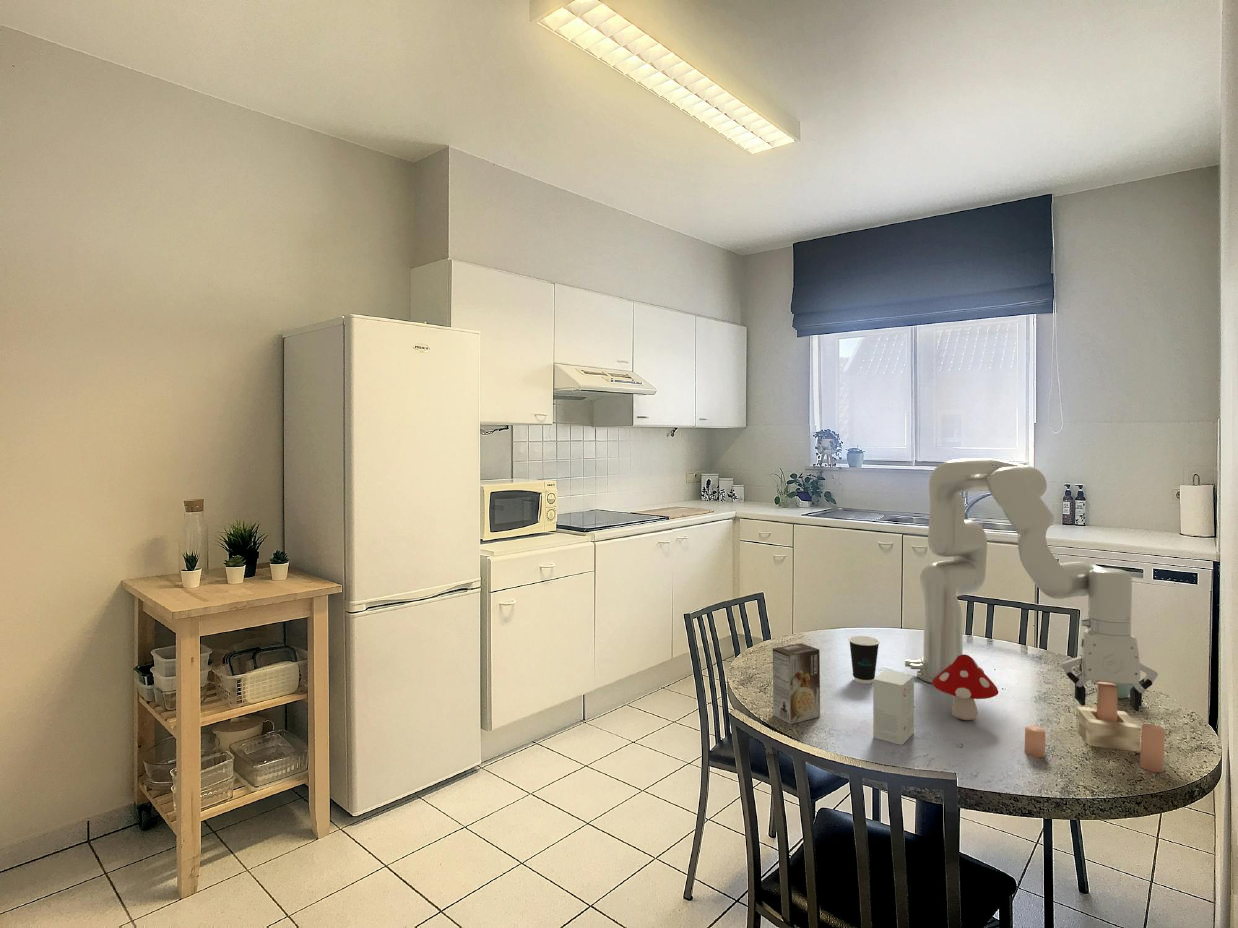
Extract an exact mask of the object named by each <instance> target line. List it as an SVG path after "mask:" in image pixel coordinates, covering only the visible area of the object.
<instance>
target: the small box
mask: <svg viewBox="0 0 1238 928" xmlns="http://www.w3.org/2000/svg"><path fill="white" fill-rule="evenodd" d="M872 685H873V686H872V687H873V688H872V690H873V693H872V694H873V695H872V699H873V705H872V706H873V707H872V708H873V713H872V714H873V715H872V716H873V717H872V718H873V719H872V720H873V729H872V730H873V732H872V733H873V734H872V736H873V738H874V739H877V740H881V741H885V742H889V743H891V744H896V745H899V746H903V745H904V744H905V743H906V742H907V741H908V740H909V739H910V738H911V737H912V735H913V734H914V733H915V730H914V729H915V716H914V715H915V707H914V706H915V675H913V674H909V673H905V672H901V671H896V670H889V669H885V670H884V671H882V672H880V674H878V675H877V676H875V678H874V679H873V683H872Z"/></svg>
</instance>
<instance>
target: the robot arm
mask: <svg viewBox="0 0 1238 928" xmlns="http://www.w3.org/2000/svg"><path fill="white" fill-rule="evenodd" d="M928 482H929V483H928V489H929V490H928V492H929V513H928V514H929V516H928V536H927V537H928V538H927V542H928V543H927V544H928V549H929V551H930V552H931V553H932V554H933V555H935V556H937V557H942V558H949V557H951V558H953V559H952V560H951V559H949V560H942V561H941V560H939V561H934V562H932V563H929V564H928V565H926V566H925V567H924V568H922V571H921V572H920V576H919V577H920V578H919V583H920V584H919V585H920V589H921V592H922V600H923V602H922V603H923V656H921V659H917V660H913V659H904V667H907V668H910V670H916V674H917V677H918V678H919V679H920V680H922V681H924V682H927V683H929V684H932V681H933V679H934V678H935V677H936V676H937V675H938V674H939V673H941V672H942V671H943V670H944V669H946V668H947V667H948V666H949V665H950V664H951V661H952V660H953V659H954V658H955V657H957V656H960V655H963V643H964V641H963V640H964V637H963V635H964V633H963V632H964V631H963V629H964V616H963V609H962V607H961V605H960V603H959V599H958V597H960V596H966V595H971V594H975V593H978V592H979V591H980V590H981V589H982V588H983V586H984V583H985V580H986V572H987V554H988V553H987V552H988V537H987V535H986V532H985V530H984V528H983V527H982V525H980V524H979V523H978V522H976V521H974V520H971V519H965V517H966V516H965V515H966V505H965V502H964V498H963V496H962V495H961V494H962V493H968V492H987V491H988V492H989V493H990V495H991V496H992V498H993V500H995V501H994V502H996V503H997V505H998V506H999V508H1000V509H1001V511H1002V512H1003V514H1004V516H1005V517H1006V518H1007V520H1008V522H1010V524H1011V526H1012V527H1013V528H1014V531H1015V532H1016V534H1017V548H1018V549H1017V550H1018V555H1019V558H1020V562H1021V564H1022V566H1023V568H1024V570H1025V572H1026V573H1027V575H1028V576H1029V577H1030V579H1031V581H1032V582H1033V583H1034V585H1035V586H1036V587H1037V588H1038V589H1039V591H1041V592H1042V593H1043V594H1044V595H1045V596H1047V597H1049V598H1051V599H1054V600H1062V599H1071V598H1076V597H1077V598H1078V597H1085V596H1086V597H1087V601H1088V602H1087V615H1086V618H1085V619H1080V620H1079V625H1080V626H1081V627H1084V628H1087V629H1084V631H1083V633H1082V638H1081V643H1080V647H1079V648H1080V649H1079V655H1078V656H1076V657H1074V658H1071V659H1067V660H1065V661H1063V662H1061V663H1060V666H1061V668H1062V670H1063V671H1064V673H1065V675H1066V676H1067V678H1068V679H1070V681H1071V682H1072V683H1074V699H1075V701H1076V700H1077V702H1078V704H1079V705H1080V707H1084V706H1086V696H1087V695H1086V693H1087V690H1086V689H1087V688H1086V687H1085V686H1084V685H1086V684H1087V682H1088V681H1093V682H1096V681H1098V682H1108V683H1119V684H1131V685H1132V688H1131V689H1130V695H1129V707H1130V708H1132V710H1133V711H1134V712H1140V707H1142V706H1143V705H1142V704H1143V694H1144V693H1145V692H1146V690H1147V689H1149V688H1150V687H1151V686H1152V685H1153V682H1155V680H1156V679H1157V677H1158V675H1159V672H1157V671H1156V670H1155V669H1152V668H1151V667H1149V666H1146V665H1145V664H1142V663H1141V662H1140V654H1139V647H1138V641H1137V638H1136V636H1135V634H1132V604H1133V602H1132V599H1133V595H1132V594H1133V590H1132V589H1133V577H1132V575H1131V574H1130V572H1128V571H1127V570H1124V569H1120V568H1112V567H1103V566H1099V565H1096V564H1092V563H1090V562H1085V561H1072V562H1061V563H1060V562H1059V561H1058V559H1056V557H1055V556H1054V554H1053V553H1052V550H1050V547H1049V545H1048V542H1047V537H1046V536H1047V531H1048V529H1049V528H1050V527H1051V526H1052V525H1053V523H1054V522H1055V521H1054V520H1055V516H1054V514H1053V513H1052V511H1051V510H1050V509H1049V507H1048V506H1047V504H1046V503H1045V502H1044V501H1043V499H1042V498H1041V497H1042V496H1043V495H1045V493H1046V491H1047V486H1048V485H1047V484H1048V483H1047V480H1046V477H1045V475H1044V474H1043V473H1042V472H1041V471H1040V470H1039V469H1037V468H1035V467H1033V466H1031V465H1025V464H1020V463H1015V462H1009V461H1005V460H1001V459H995V458H958V459H951V460H947V461H945V462H943V463H940V464H938V465H937V466H936V467H935V468H934V469H933V471H932V473H931V475H930V477H929V481H928ZM1076 666H1078V670H1079V672H1078V674H1076V675H1075V674H1074V673H1073V671H1072V668H1073V667H1076ZM1141 672H1143V673H1145V674H1146V675H1145V677H1144V678H1142V679H1141Z"/></svg>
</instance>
